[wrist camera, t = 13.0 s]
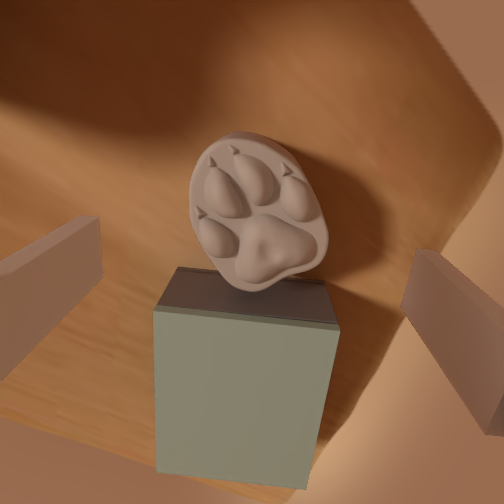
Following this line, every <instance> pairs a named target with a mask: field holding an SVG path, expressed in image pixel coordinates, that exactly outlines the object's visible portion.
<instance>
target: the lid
mask: <svg viewBox="0 0 504 504" xmlns="http://www.w3.org/2000/svg"><path fill="white" fill-rule="evenodd" d="M153 331H154V385H155V439H156V472H158V473H166V474H174V475H183V476H191V477H200V478H208V479H217V480H225V481H234V482H243V483H251V484H260V485H268V486H277V487H285V488H294V489H302V490H306V488H307V483H308V478H309V474H310V469H311V465H312V460H313V456H314V451H315V446H316V442H317V437H318V433H319V428H320V423H321V419H322V414H323V409H324V405H325V400H326V396H327V391H328V386H329V382H330V377H331V373H332V368H333V363H334V359H335V354H336V350H337V345H338V340H339V336H340V328H339V325H338V324H329V323H320V322H310V321H301V320H292V319H282V318H273V317H264V316H255V315H245V314H236V313H227V312H218V311H208V310H199V309H190V308H180V307H171V306H162V305H156V307H155V309H154V310H153Z"/></svg>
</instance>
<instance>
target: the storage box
mask: <svg viewBox="0 0 504 504" xmlns="http://www.w3.org/2000/svg"><path fill="white" fill-rule="evenodd" d="M157 305H162V306H171V307H180V308H190V309H199V310H208V311H218V312H227V313H236V314H245V315H255V316H264V317H273V318H282V319H292V320H301V321H310V322H320V323H329V324H338V321H337V318H336V315H335V312H334V309H333V306H332V303H331V300H330V297H329V294H328V290H327V287H326V284H325V281H318V280H308V279H298V278H288V277H285V278H283V279H281V280H279V281H278V282H276V283H275V284H273V285H272V286H270V287H268V288H266V289H264V290H261V291H257V292H249V291H244V290H241V289H238V288H236V287H234V286H232V285H231V284H230V283H229V282H227V281H226V279H225V278H224V277H223V276H222V275H221V274H220V272H219V271H216V270H206V269H196V268H185V267H178V268H177V270H176V271H175V273H174V275H173V277H172V278H171V280H170V282H169V284H168V286H167V287H166V289H165V291H164V293H163V295H162V296H161V298H160V300H159V302H158V304H157Z"/></svg>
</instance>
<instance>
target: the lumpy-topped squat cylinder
mask: <svg viewBox="0 0 504 504" xmlns="http://www.w3.org/2000/svg"><path fill="white" fill-rule="evenodd" d="M189 213H190V220H191V224H192V226H193V229H194V231H195V233H196V235H197V238H198V240H199V242H200V244H201V245H202V247H203V249H204V251H205V252H206V254H207V255H208V257H209V258H210V260H211V261H212V263H213V264H214V265H215V267H216V268H217V270H218V271H219V272H220V274H221V275H222V276H223V277H224V278H225V279H226V281H227V282H229V283H230V284H231V285H232V286H234V287H236V288H238V289H241V290H244V291H249V292H257V291H261V290H264V289H266V288H268V287H270V286H272V285H273V284H275V283H276V282H278V281H279V280H281V279H283V278H285V277H287V276H290V275H293V274H297V273H301V272H305V271H308V270H310V269H313V268H315V267H316V266H317V265H319V264H320V263H321V261H322V260H323V259H324V257H325V255H326V252H327V249H328V245H329V233H328V228H327V225H326V222H325V219H324V216H323V213H322V210H321V207H320V204H319V202H318V200H317V197H316V195H315V193H314V191H313V189H312V187H311V185H310V183H309V181H308V180H307V178H306V176H305V174H304V172H303V170H302V169H301V167H300V165H299V163H298V162H297V160H296V159H295V157H294V156H293V155H292V154H291V153H290V152H288V151H287V150H286V149H285V148H283V147H282V146H280V145H279V144H277V143H276V142H274V141H272V140H271V139H269V138H267V137H265V136H262V135H259V134H255V133H251V132H232V133H229V134H227V135H225V136H223V137H222V138H220V139H219V140H217V141H216V142H214V143H213V144H212V145H210V146H209V147H208V148H207V149H206V150H205V151H204V152H203V153H202V155H201V156H200V158H199V160H198V161H197V163H196V166H195V168H194V171H193V174H192V176H191V180H190V187H189Z"/></svg>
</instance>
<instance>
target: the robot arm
mask: <svg viewBox="0 0 504 504" xmlns="http://www.w3.org/2000/svg"><path fill="white" fill-rule="evenodd" d="M102 278H103V265H102V251H101V238H100V224H99V217H94V216H84V215H80V216H78V217H76V218H75V219H73V220H71V221H69V222H68V223H66V224H64V225H62V226H61V227H59V228H57V229H55V230H54V231H52V232H50V233H48V234H47V235H45V236H43V237H41V238H40V239H38V240H36V241H34V242H33V243H31V244H29V245H27V246H26V247H24V248H22V249H20V250H18V251H17V252H15V253H13V254H11V255H10V256H8V257H6V258H4V259H3V260H1V261H0V382H1V381H2V380H3V379H4V378H5V377H6V376H7V375H8V374H9V373H10V372H11V371H12V370H13V369H14V368H15V367H16V366H17V365H18V364H19V363H20V362H21V361H22V360H23V359H24V358H25V356H26V355H27V354H28V353H29V352H30V351H31V350H32V349H33V348H34V347H35V346H36V345H37V344H38V343H39V342H40V341H41V340H42V339H43V338H44V337H45V336H46V335H47V334H48V333H49V332H50V331H51V330H52V329H53V328H54V327H55V326H56V325H57V324H58V323H59V322H60V321H61V320H62V319H63V318H64V317H65V316H66V315H67V314H68V313H69V312H70V311H71V310H72V308H73V307H74V306H75V305H76V304H77V303H78V302H79V301H80V300H81V299H82V298H83V297H84V296H85V295H86V294H87V293H88V292H89V291H90V290H91V289H92V288H93V287H94V286H95V285H96V284H97V283H98V282H99V281H100V280H101V279H102ZM400 307H401V308H402V310H403V311H404V313H405V314H406V316H407V317H408V319H409V321H410V322H411V324H412V325H413V327H414V328H415V330H416V331H417V333H418V334H419V336H420V337H421V339H422V340H423V342H424V343H425V345H426V346H427V348H428V349H429V351H430V352H431V354H432V355H433V357H434V358H435V360H436V361H437V363H438V364H439V366H440V368H441V369H442V371H443V372H444V374H445V375H446V377H447V378H448V380H449V381H450V383H451V384H452V386H453V387H454V389H455V390H456V392H457V393H458V395H459V396H460V398H461V399H462V401H463V402H464V404H465V405H466V407H467V408H468V410H469V411H470V413H471V414H472V416H473V417H474V419H475V421H476V422H477V423H478V425H479V426H480V428H481V430H482V431H483V433H484V434H485V435H493V436H503V437H504V309H503V308H502V307H501V306H500V305H499V304H498V303H496V302H495V301H494V300H493V299H492V298H490V297H489V296H488V295H487V294H486V293H485V292H483V291H482V290H481V289H480V288H479V287H478V286H476V285H475V284H474V283H473V282H472V281H471V280H470V279H468V278H467V277H466V276H465V275H464V274H462V273H461V272H460V271H459V270H458V269H457V268H455V267H454V266H453V265H452V264H451V263H450V262H449V261H447V260H446V259H445V258H444V257H443V256H442V255H440V254H439V253H438V252H437V251H436V250H427V249H417V250H416V253H415V257H414V260H413V264H412V267H411V271H410V274H409V278H408V281H407V285H406V289H405V292H404V296H403V299H402V303H401V306H400Z"/></svg>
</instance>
